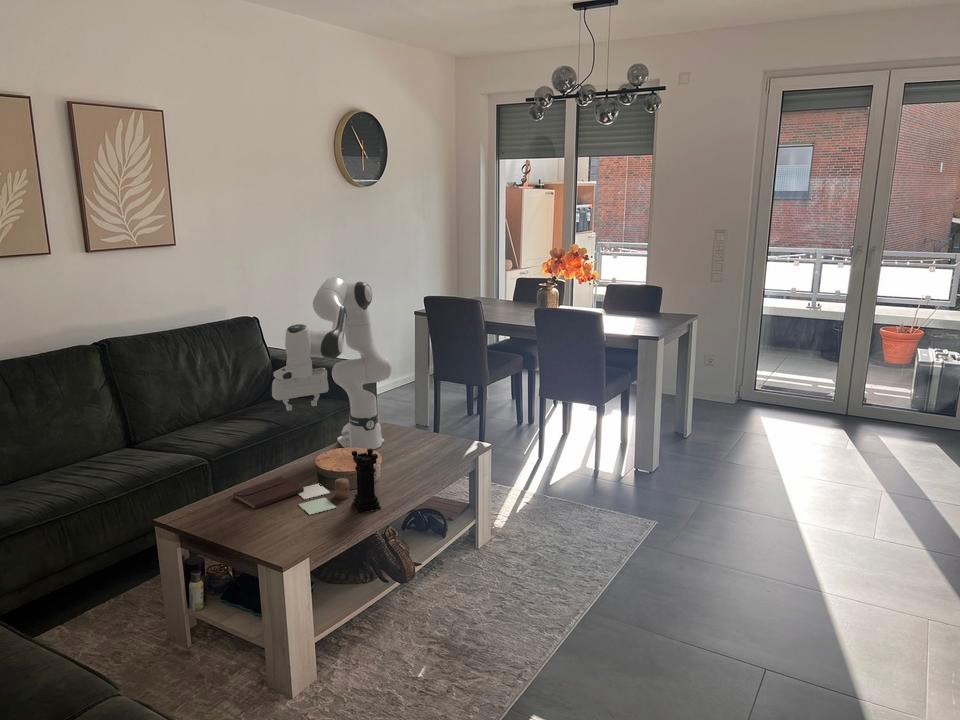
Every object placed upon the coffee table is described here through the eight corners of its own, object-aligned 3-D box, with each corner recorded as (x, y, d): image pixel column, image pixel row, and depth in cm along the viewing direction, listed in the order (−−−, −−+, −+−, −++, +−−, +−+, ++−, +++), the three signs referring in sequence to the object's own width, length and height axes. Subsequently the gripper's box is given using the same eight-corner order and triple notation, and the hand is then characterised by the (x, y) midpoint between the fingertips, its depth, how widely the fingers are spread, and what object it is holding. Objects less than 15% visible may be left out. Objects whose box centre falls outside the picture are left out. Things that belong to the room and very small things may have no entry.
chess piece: (374, 500, 253) (372, 447, 248) (380, 509, 246) (379, 455, 241) (352, 504, 250) (350, 451, 245) (358, 513, 243) (356, 458, 238)
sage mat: (298, 505, 249) (298, 504, 249) (324, 498, 254) (324, 497, 254) (309, 515, 241) (309, 514, 241) (336, 508, 247) (336, 507, 246)
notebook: (304, 491, 259) (303, 486, 259) (255, 509, 245) (254, 504, 245) (281, 480, 269) (281, 475, 268) (233, 497, 255) (233, 492, 254)
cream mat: (293, 490, 261) (293, 489, 261) (319, 484, 267) (319, 483, 267) (304, 499, 253) (304, 498, 253) (330, 493, 259) (330, 492, 259)
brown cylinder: (333, 495, 257) (332, 480, 255) (345, 492, 260) (345, 477, 258) (339, 500, 253) (338, 484, 252) (351, 497, 256) (351, 481, 254)
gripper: (323, 365, 260) (325, 401, 263) (268, 372, 248) (271, 410, 251) (330, 368, 255) (332, 405, 258) (275, 376, 243) (278, 414, 246)
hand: (301, 407), depth 254 cm, fingers open, 8 cm apart
